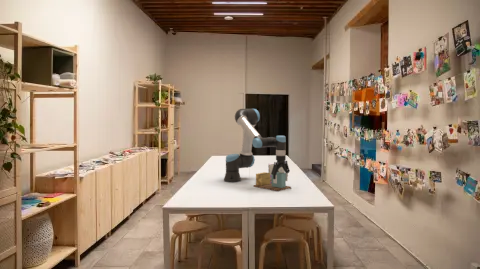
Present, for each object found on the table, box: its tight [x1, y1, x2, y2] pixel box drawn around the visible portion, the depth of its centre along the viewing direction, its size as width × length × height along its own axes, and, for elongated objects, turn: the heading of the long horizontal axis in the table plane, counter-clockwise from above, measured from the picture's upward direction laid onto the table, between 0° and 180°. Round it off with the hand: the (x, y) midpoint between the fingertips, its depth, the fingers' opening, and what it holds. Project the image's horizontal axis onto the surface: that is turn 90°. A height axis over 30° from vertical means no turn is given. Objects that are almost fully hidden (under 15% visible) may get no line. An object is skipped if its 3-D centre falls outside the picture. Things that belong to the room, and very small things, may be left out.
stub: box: [272, 172, 287, 188], centre depth 285 cm, size 10×5×11 cm, turn 45°
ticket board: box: [253, 172, 292, 192], centre depth 290 cm, size 26×16×10 cm, turn 45°
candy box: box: [268, 163, 286, 183], centre depth 309 cm, size 14×6×16 cm, turn 84°
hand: (280, 182), depth 284 cm, fingers open, 13 cm apart
